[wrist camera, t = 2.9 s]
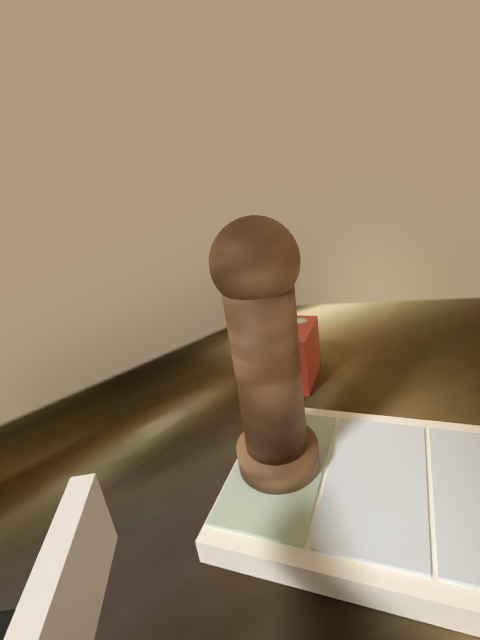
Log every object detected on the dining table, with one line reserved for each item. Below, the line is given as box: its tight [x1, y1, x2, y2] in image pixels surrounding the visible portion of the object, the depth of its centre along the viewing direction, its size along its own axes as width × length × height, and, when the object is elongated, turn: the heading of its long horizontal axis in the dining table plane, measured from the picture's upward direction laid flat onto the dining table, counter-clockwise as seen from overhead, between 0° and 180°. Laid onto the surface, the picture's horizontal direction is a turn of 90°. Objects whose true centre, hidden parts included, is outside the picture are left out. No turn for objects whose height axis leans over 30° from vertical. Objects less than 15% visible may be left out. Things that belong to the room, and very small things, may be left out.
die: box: [297, 316, 321, 397], centre depth 36 cm, size 5×5×5 cm
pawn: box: [209, 215, 320, 495], centre depth 22 cm, size 5×5×15 cm
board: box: [195, 408, 480, 637], centre depth 22 cm, size 22×12×2 cm, turn 70°
